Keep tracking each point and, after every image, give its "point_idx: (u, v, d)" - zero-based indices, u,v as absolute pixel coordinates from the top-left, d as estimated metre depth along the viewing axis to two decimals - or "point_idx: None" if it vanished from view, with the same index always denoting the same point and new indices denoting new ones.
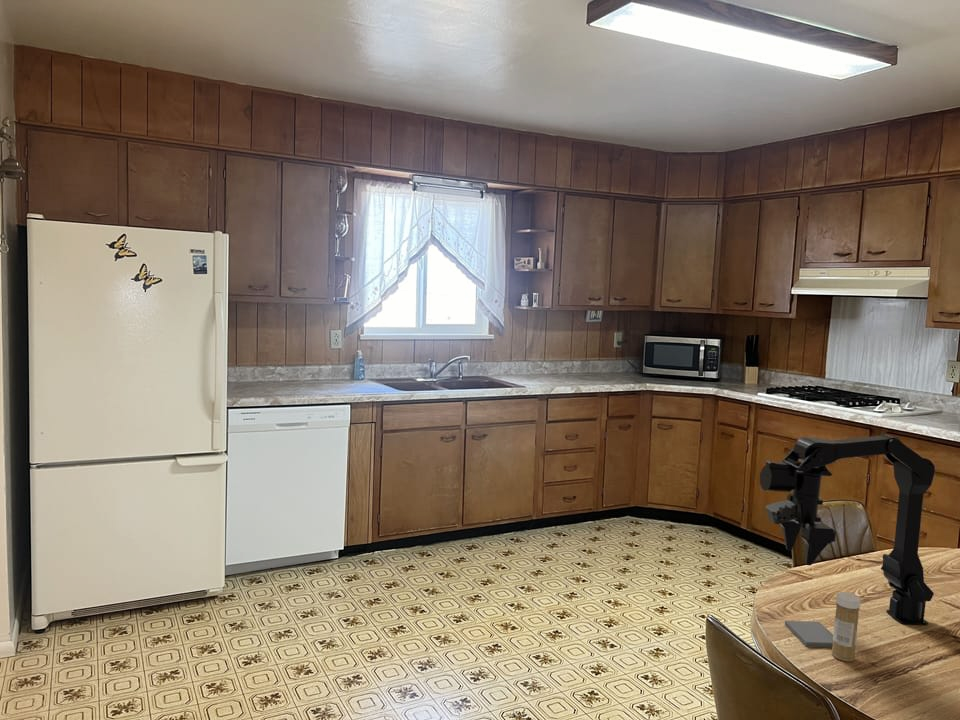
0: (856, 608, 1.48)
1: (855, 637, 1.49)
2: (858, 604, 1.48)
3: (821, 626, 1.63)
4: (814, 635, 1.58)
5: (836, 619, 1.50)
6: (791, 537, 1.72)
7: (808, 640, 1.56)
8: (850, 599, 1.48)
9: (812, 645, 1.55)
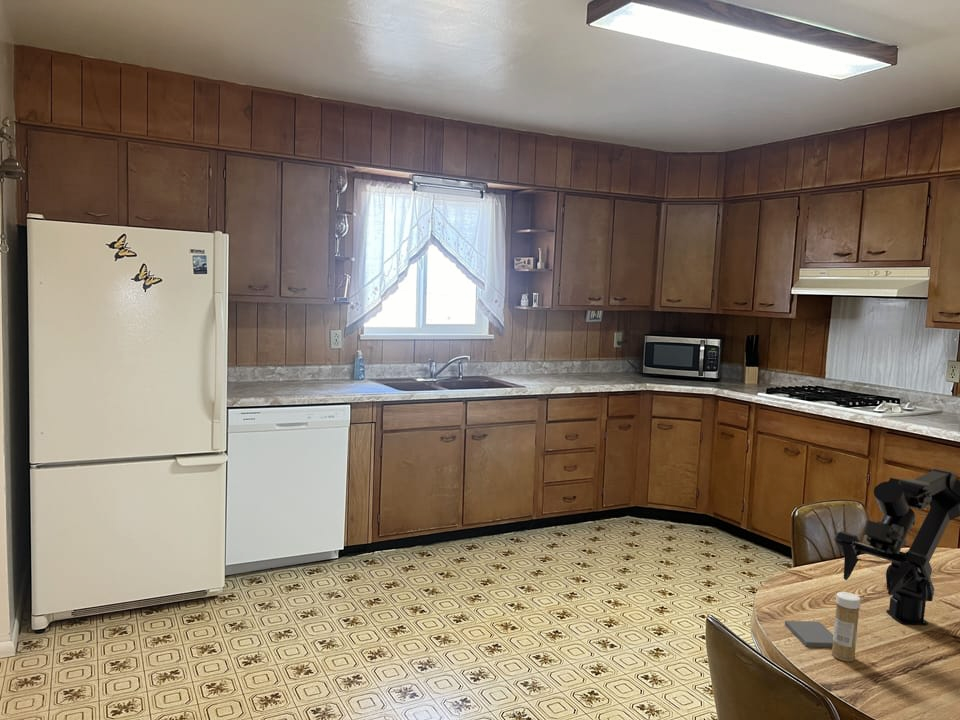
0: (856, 608, 1.48)
1: (855, 637, 1.49)
2: (858, 604, 1.48)
3: (821, 626, 1.63)
4: (814, 635, 1.58)
5: (836, 619, 1.50)
6: (850, 567, 1.60)
7: (808, 640, 1.56)
8: (850, 599, 1.48)
9: (812, 645, 1.55)
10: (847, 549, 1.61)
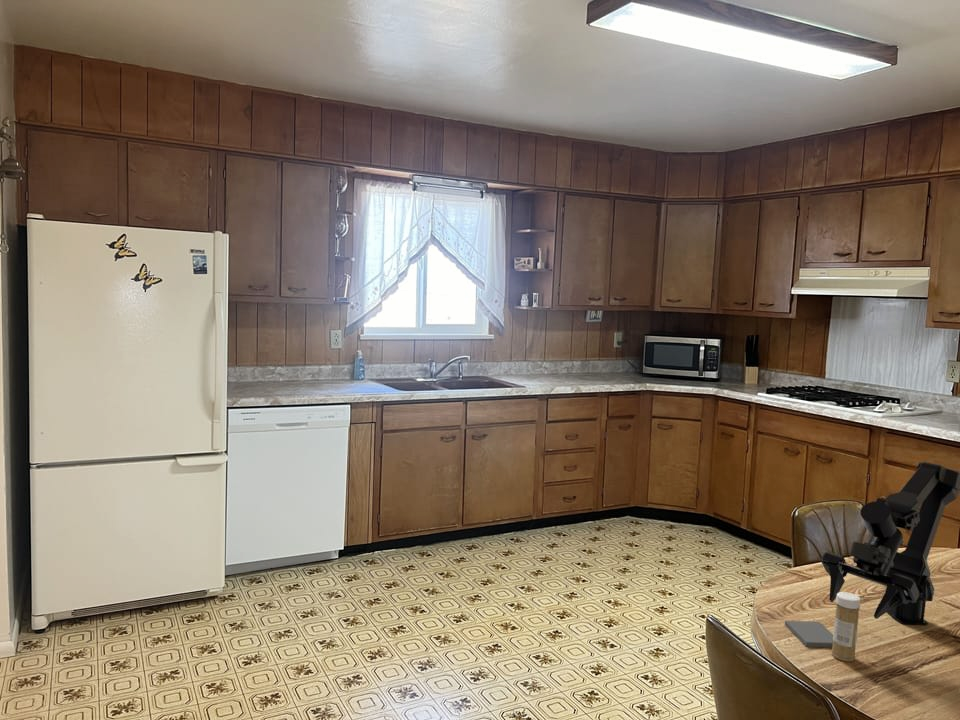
0: (856, 608, 1.48)
1: (855, 637, 1.49)
2: (858, 604, 1.48)
3: (821, 626, 1.63)
4: (814, 635, 1.58)
5: (836, 619, 1.50)
6: (836, 589, 1.57)
7: (808, 640, 1.56)
8: (850, 599, 1.48)
9: (812, 645, 1.55)
10: (833, 570, 1.57)
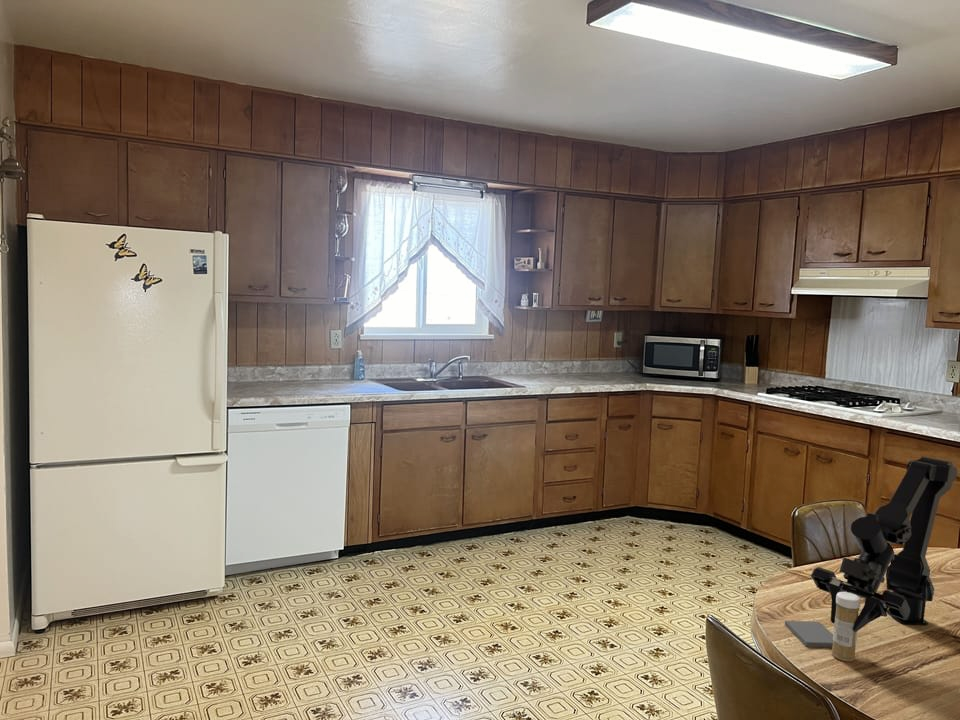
0: (856, 608, 1.48)
1: (855, 637, 1.49)
2: (858, 603, 1.48)
3: (821, 626, 1.63)
4: (814, 635, 1.58)
5: (836, 619, 1.50)
6: None
7: (808, 640, 1.56)
8: (850, 599, 1.48)
9: (812, 645, 1.55)
10: (834, 590, 1.54)
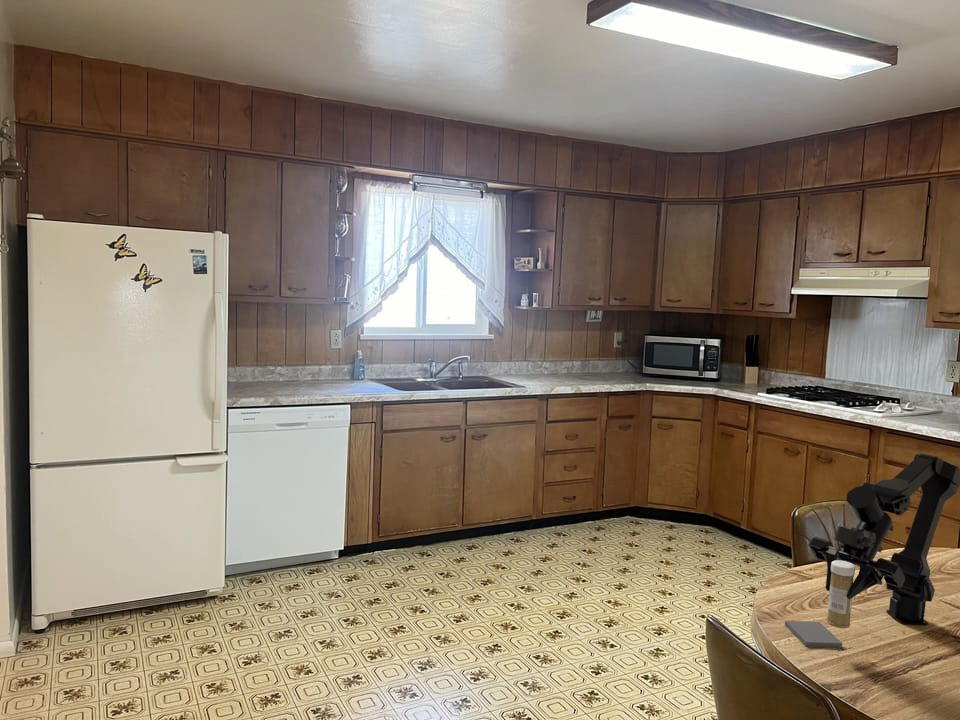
0: (850, 575, 1.49)
1: (849, 604, 1.50)
2: (852, 571, 1.49)
3: (821, 626, 1.63)
4: (814, 635, 1.58)
5: (831, 587, 1.52)
6: None
7: (808, 640, 1.56)
8: (844, 566, 1.50)
9: (812, 645, 1.55)
10: (830, 559, 1.55)
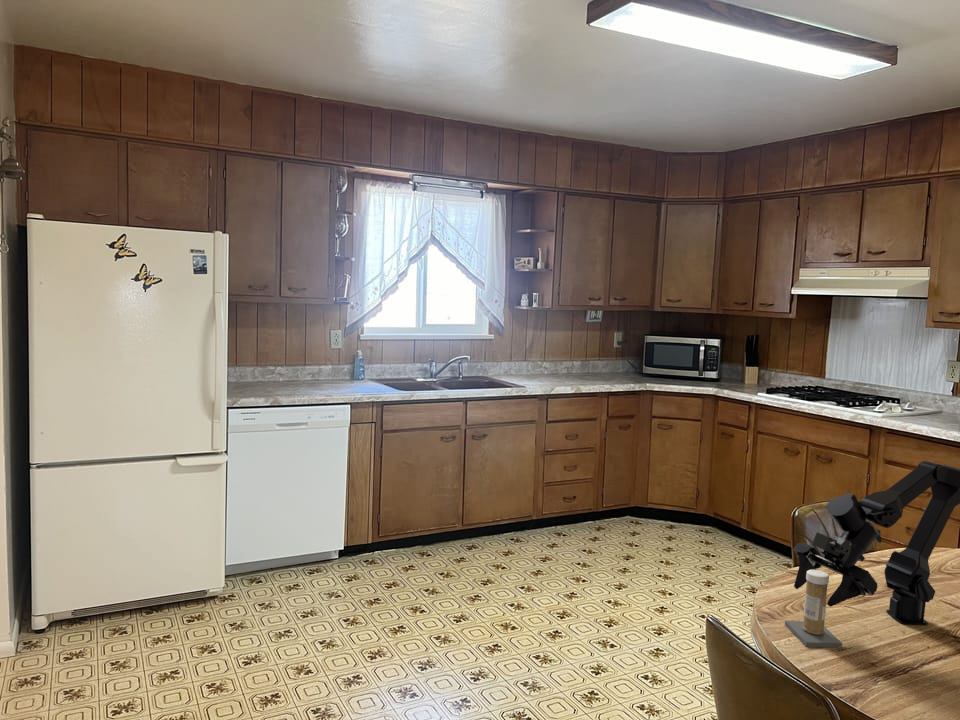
0: (822, 584, 1.57)
1: (822, 612, 1.58)
2: (824, 580, 1.57)
3: None
4: (814, 635, 1.58)
5: (805, 594, 1.60)
6: (803, 577, 1.64)
7: (808, 640, 1.56)
8: (816, 575, 1.58)
9: (812, 645, 1.55)
10: (802, 559, 1.65)
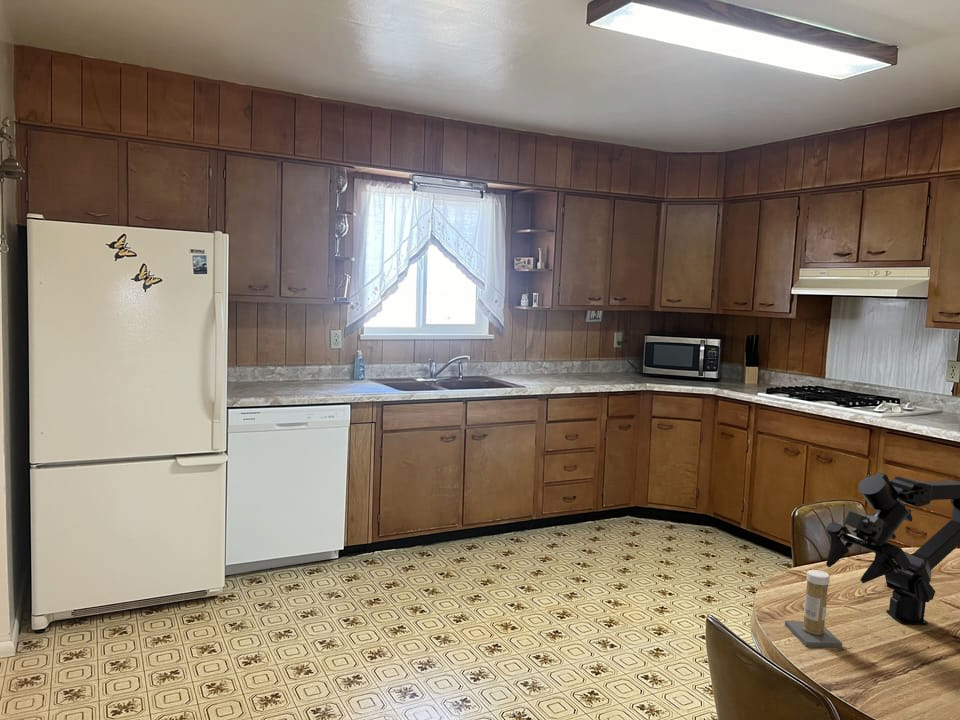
0: (822, 584, 1.57)
1: (822, 612, 1.58)
2: (825, 581, 1.57)
3: None
4: (814, 635, 1.58)
5: (806, 594, 1.60)
6: (835, 556, 1.67)
7: (808, 640, 1.56)
8: (817, 575, 1.58)
9: (812, 645, 1.55)
10: (834, 538, 1.68)
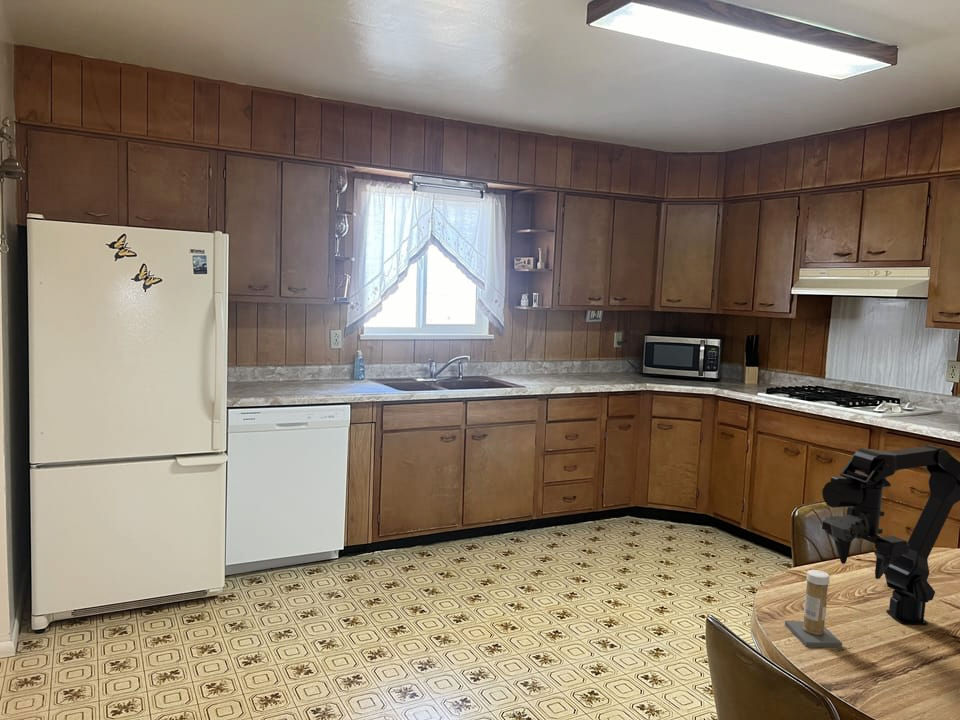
0: (822, 584, 1.57)
1: (822, 612, 1.58)
2: (825, 581, 1.57)
3: None
4: (814, 635, 1.58)
5: (806, 594, 1.60)
6: (844, 549, 1.70)
7: (808, 640, 1.56)
8: (817, 575, 1.58)
9: (812, 645, 1.55)
10: (834, 537, 1.69)
